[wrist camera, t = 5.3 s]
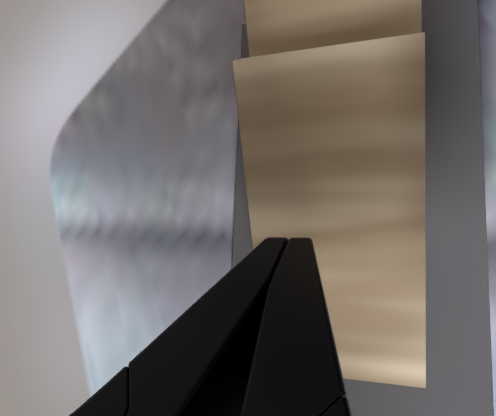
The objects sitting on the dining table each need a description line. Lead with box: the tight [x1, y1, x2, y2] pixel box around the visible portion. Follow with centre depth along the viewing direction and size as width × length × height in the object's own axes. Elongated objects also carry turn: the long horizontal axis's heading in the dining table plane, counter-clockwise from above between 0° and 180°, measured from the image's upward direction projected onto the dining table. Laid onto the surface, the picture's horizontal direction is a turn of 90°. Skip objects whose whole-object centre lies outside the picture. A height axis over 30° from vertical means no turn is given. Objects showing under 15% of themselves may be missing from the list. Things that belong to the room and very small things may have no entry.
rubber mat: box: [232, 0, 494, 416], centre depth 16 cm, size 17×9×1 cm, turn 178°
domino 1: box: [244, 0, 422, 57], centre depth 14 cm, size 2×5×10 cm
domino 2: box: [232, 32, 426, 388], centre depth 13 cm, size 2×5×10 cm
